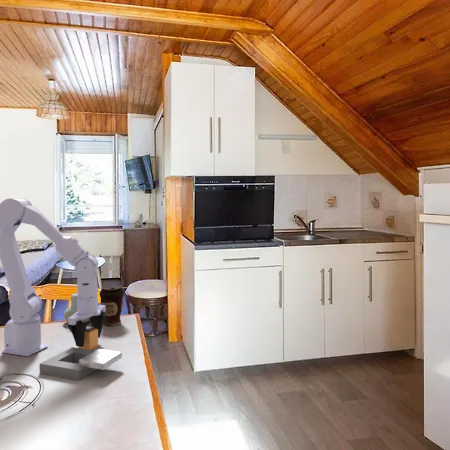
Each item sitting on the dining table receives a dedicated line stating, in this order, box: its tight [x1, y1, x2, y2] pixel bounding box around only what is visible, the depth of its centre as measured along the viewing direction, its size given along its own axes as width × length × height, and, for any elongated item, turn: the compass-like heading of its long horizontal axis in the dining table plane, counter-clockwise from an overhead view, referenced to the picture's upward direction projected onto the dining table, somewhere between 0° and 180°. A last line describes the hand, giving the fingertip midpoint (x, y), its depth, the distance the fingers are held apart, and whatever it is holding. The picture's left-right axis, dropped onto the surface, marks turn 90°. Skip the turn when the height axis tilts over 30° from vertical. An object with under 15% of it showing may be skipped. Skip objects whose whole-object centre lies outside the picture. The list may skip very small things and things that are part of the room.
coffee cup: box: [99, 285, 125, 326], centre depth 142 cm, size 9×8×13 cm
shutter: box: [78, 348, 123, 371], centre depth 102 cm, size 7×8×2 cm
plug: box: [77, 325, 99, 350], centre depth 119 cm, size 4×4×6 cm
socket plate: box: [39, 346, 97, 381], centre depth 105 cm, size 12×12×2 cm
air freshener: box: [63, 292, 91, 324], centre depth 144 cm, size 11×8×10 cm
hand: (88, 341), depth 119 cm, fingers open, 7 cm apart
